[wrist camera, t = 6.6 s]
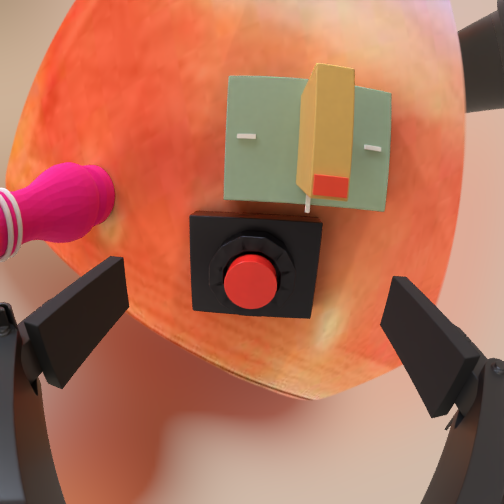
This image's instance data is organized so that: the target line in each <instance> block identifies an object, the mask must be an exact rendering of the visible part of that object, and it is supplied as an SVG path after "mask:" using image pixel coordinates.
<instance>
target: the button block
mask: <svg viewBox="0 0 504 504" xmlns="http://www.w3.org/2000/svg"><path fill="white" fill-rule="evenodd" d="M189 219H190V264H191V288H192V307H193V310H194V311H204V312H215V313H226V314H238V315H245V316H267V317H285V318H307V319H310V318H311V311H312V305H313V298H314V291H315V284H316V277H317V269H318V261H319V253H320V244H321V235H322V226H323V223H322V222H321V220H320V219H319V218H316V217H302V216H288V215H272V214H254V213H235V212H212V211H195V212H194V213H193V214H191V215H190V216H189ZM245 254H258V255H261V256H263V257H265V258H267V259H268V260H269V261H270V262H271V263H272V264H273V266H274V268H275V270H276V274H277V291H276V294H275V296H274V297H273V299H272V300H271V301H270V302H269V303H268V304H266V305H265V306H263V307H260V308H257V309H246V308H242V307H240V306H238V305H236V304H234V303H233V302H232V301H231V300H230V299H229V297H228V296H227V294H226V292H225V288H224V280H225V276H226V274H227V271H228V269H229V266H230V265H231V263H232V262H233V261H234V260H235V259H236V258H238V257H239V256H242V255H245Z"/></svg>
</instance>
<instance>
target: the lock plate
mask: <svg viewBox="0 0 504 504" xmlns="http://www.w3.org/2000/svg"><path fill="white" fill-rule="evenodd" d="M311 74H312V73H311ZM308 80H309V79H300V78H288V77H271V76H229V80H228V98H227V118H226V141H225V168H224V200H239V201H260V202H277V203H292V204H305V213H310V205H319V206H331V207H342V208H352V209H362V210H372V211H381V212H384V211H385V203H386V194H387V184H388V173H389V160H390V142H391V93H388V92H384V91H379V90H374V89H369V88H364V87H359V86H355V101H354V129H353V147H352V162H351V174H350V185H349V195H348V201H346V202H345V201H336V200H326V199H316V198H310V197H309V196H308V195H307V194H306V193H305V192H304V191H303V190H302V189H301V188H300V187H299V186H298V185H297V184H296V175H297V160H298V144H299V126H300V105H301V95H302V93H303V91H304V89H305V86H306V84H307V82H308Z"/></svg>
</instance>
